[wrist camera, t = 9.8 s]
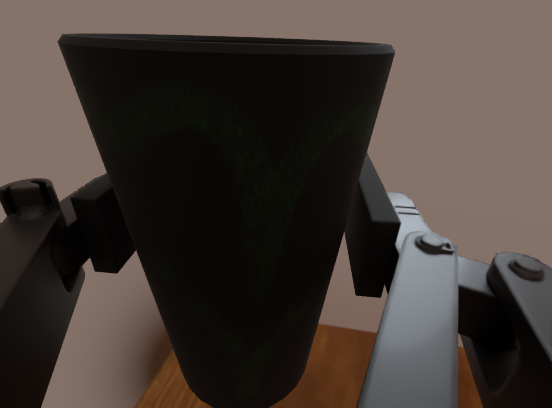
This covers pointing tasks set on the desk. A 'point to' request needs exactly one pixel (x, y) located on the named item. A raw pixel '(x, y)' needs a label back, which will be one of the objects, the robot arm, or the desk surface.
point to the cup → (233, 187)
